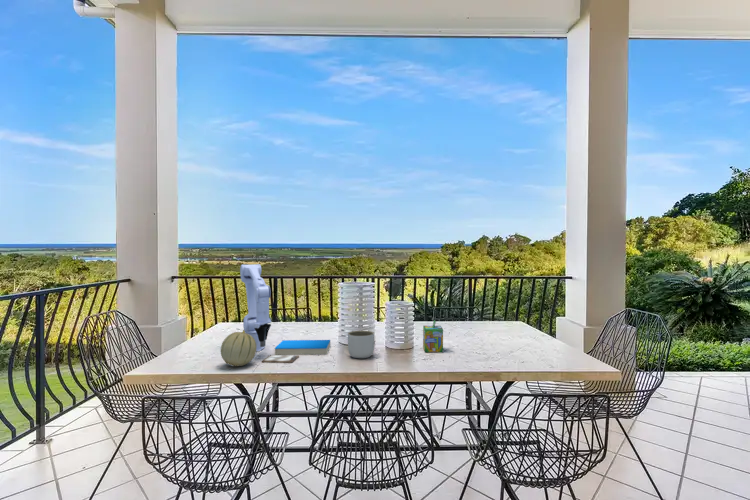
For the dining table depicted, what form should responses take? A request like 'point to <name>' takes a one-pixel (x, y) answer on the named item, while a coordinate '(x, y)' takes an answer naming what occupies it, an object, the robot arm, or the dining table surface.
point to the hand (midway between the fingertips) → (262, 340)
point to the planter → (361, 344)
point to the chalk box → (433, 338)
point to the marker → (263, 344)
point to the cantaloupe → (238, 348)
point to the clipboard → (280, 359)
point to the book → (303, 347)
